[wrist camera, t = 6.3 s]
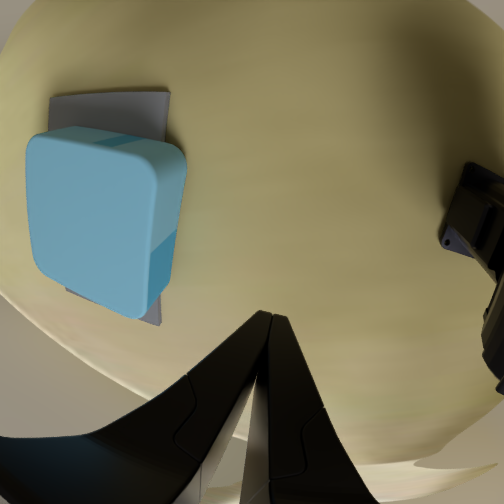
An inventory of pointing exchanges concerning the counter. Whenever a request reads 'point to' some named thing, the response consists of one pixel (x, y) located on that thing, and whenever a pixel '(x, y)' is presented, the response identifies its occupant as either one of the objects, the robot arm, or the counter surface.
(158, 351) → the counter surface
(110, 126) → the mat
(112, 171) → the light blue flat block
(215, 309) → the counter surface
